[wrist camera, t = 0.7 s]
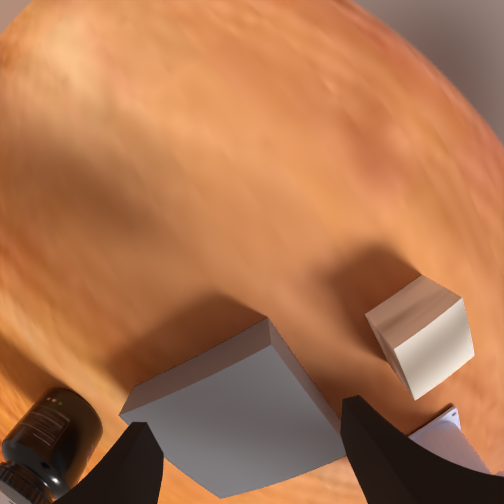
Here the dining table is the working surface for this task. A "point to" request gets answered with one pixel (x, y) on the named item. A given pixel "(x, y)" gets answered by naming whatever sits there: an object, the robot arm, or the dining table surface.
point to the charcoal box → (239, 415)
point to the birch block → (422, 334)
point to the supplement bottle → (49, 448)
